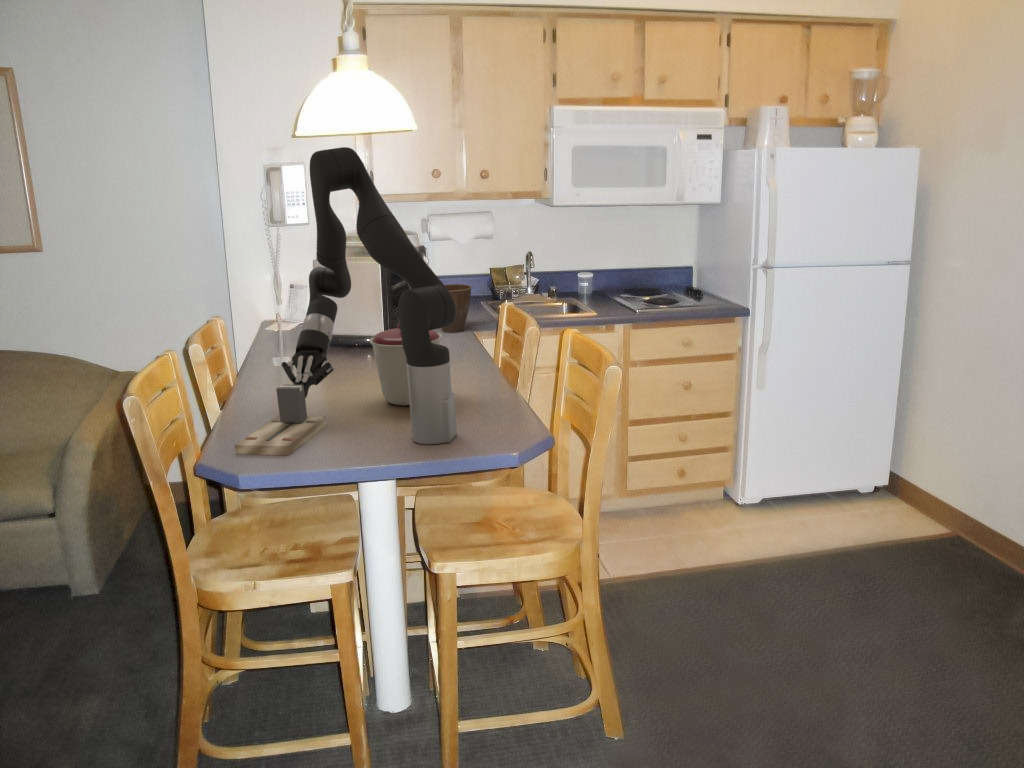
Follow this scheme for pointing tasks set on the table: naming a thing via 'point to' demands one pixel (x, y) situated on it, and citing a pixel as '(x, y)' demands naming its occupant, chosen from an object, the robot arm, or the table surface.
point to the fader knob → (291, 403)
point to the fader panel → (280, 437)
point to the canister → (394, 364)
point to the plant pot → (459, 306)
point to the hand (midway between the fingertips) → (299, 398)
